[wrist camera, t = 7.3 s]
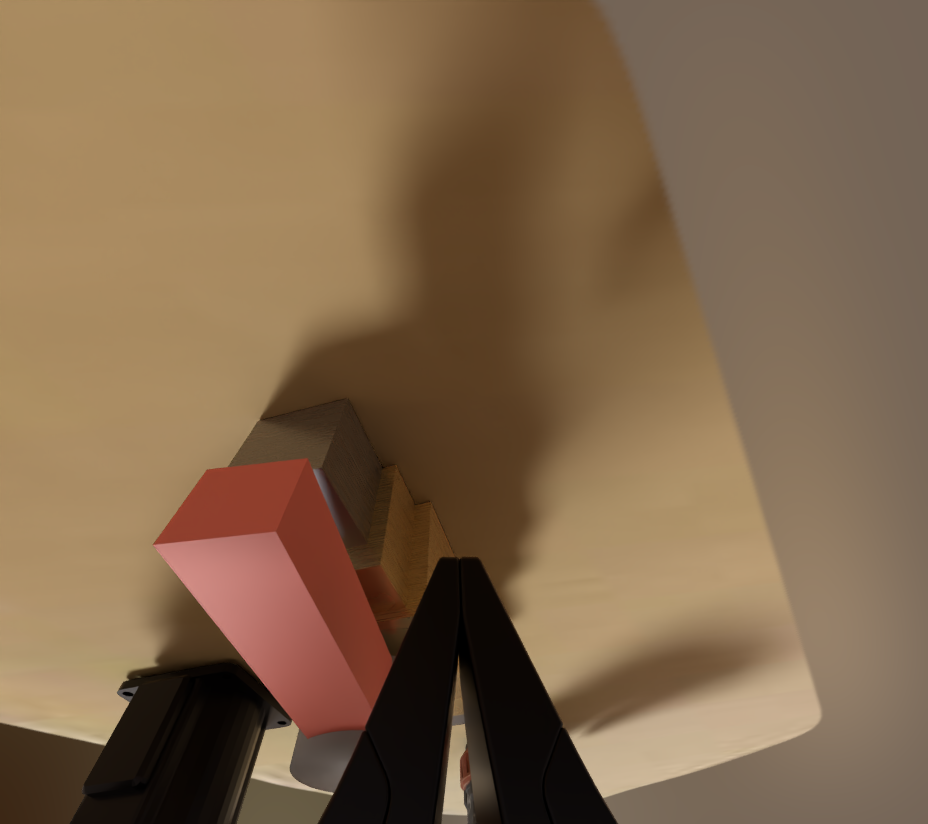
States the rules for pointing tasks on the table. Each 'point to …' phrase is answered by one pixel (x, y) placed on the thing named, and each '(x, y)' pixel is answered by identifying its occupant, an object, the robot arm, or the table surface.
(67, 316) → the table surface
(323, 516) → the lever
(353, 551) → the valve pipe
